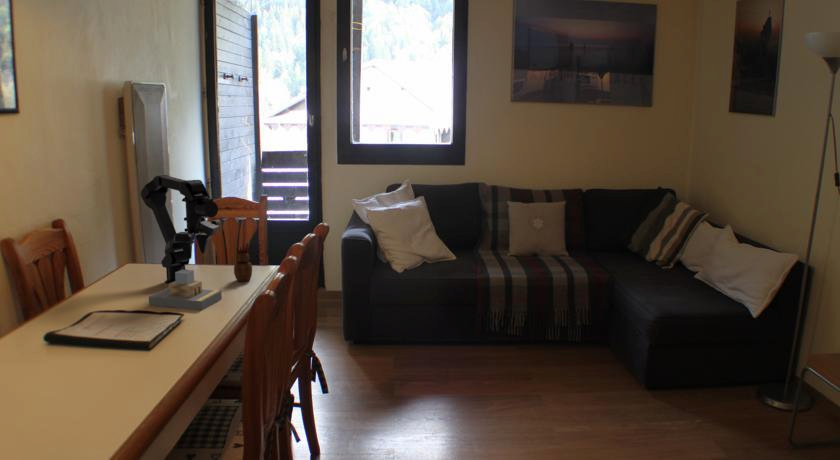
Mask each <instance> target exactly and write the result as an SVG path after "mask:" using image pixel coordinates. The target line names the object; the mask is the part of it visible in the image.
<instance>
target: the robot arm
mask: <svg viewBox="0 0 840 460" xmlns="http://www.w3.org/2000/svg"><path fill="white" fill-rule="evenodd" d="M169 189H170V190H174V191H178V192H179V194H181V195H182V196H184V197H183V198H182V199H181V202H185V204H184V205H185V217H183V221H185V222H186V223H185V224H186V228H184V231H179V232H177V231H176V228H175V226H174V224H173V221H172V219H171V216H170V213H169V211H168V209H167V206H166V203H167V198H168V197H167V194H168V192H169ZM140 197H141V199H142V201H143V203H144V204H145V206H146V207H148V208H149V209H151V210H152V212H153V215H154V218H155V219H156V220H155V221H156V222H157V225H158V227H159V230H160V232H161V235H162V237H163V240H164V242H165V246H164V247H165V248H164V254H165V256H164V257H163V258H162V260H161V262H160V263H161V266H162V268H166V269H165V270H166V280H164V283H167V284H169V283H172V282H174V281H176V279H175V272H178V271H180V270H182V269H183V270H187V269H186V266H187V265H190V260H191V259H192V252H193V244H194V243H195V242H196V241H197V244H198V247H199V250H200V254H205V252H206V248H207V244H208V241H209V239H210V238H211V237H213V236H214V235H217V233H218V230H220V224H219V221H218V220H216V219H215V220H212V221H208V220H207V219H206V218H214V217H216V216H217V214H218V212H219V207H218V204H217V203H216V202H214V199H213V197H211V196H210V193H209V192H208V190H207V188H206V186H205V184H204V182H203V181H202V180H201V179H188V180H186V179H182V178H178V177H173V176H169V175H167V174H162V175H161V174H160V175H156V176H154V177H153V178H152V180H151V181H149V182H148V183H146V184H145V185H144V186H143V187H142V189H141V191H140ZM195 238H196V240H195Z"/></svg>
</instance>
